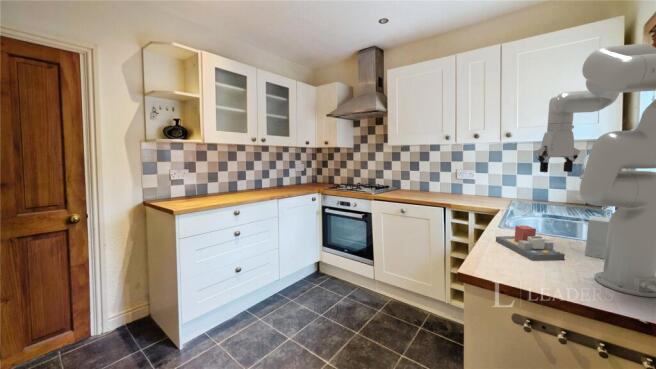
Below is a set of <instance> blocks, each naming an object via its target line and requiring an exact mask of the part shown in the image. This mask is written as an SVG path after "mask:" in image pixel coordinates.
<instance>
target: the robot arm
mask: <svg viewBox="0 0 656 369" xmlns="http://www.w3.org/2000/svg"><path fill="white" fill-rule="evenodd" d="M581 68H582V71H581V72H582V75H583V78H584V79H585V86H586V88H587V90H577V91H565V92H561V93H559V94H558V95H557V96H553V97H551V98H550V99H549V103H548V116H547V128H546V132H544V134H543V137H542V140H541V144H540V148H539V149H537V150H535V151H534V154H535V158H536V159H537V160H538V162H539V163H540V164H539V172H541V173H548V171H549V162H548V161H549V159H551V158H563V159H564V160H565V161H564V162H563V172H565V173H566V172H567V173H572V172H573V167H574V166H573V163H574V162H576V159H577V158H578V157H579V155H580V153H581V150H580V149H578V148H576V147H575V138H574V132H573V129H574V128H575V126H574V124H573V122H574V114H575V113H594V112H599V111H601V110H604V109H605V108H607V107H609V106H610V105H612V104H613V103H615V101H617V99H618V97H619V96H620V94H622V93H636V92H654V91H656V46H653V45H650V44H646V43H645V44H644V43H638V44H637V43H635V44H634V43H633V44H625V45H613V46H603V47H600V48H597V49H596V50H594V51H593V52H591V53H590V54H589V55H588V56H587V58H586V59H585V61H584V63H583V64H582V67H581ZM623 169H634V170H623ZM635 169H636V170H635ZM637 169H642V170H637ZM643 169H656V98H655V99H654V100H653V101H652V102H651V103H650V104H649V105H648V106H647V107H646V108H645V109H644V110H643V112H642V115H641V116H640V120H639V123H638V125H637V127H636V128H635V129H633V130H614V131H609V132H606V133H604V134H602V135H600V136H599V137H598V138H597V139H596V140H595V141H594V142H593V144H592V146H591V148H590V151H589V155H588V157H587V160H586V164H585V167H584V171H583V173H582V177H581V181H580V184H579V195H580V198H581V199H582V201H583V202H584V203H586V204H588V205H591V206H595V207H596V206H597V207H617V208H616V209H615V211H614V212H613V213H612V215H611V216H610V217H609V218H610V220H609V225H608V234H607V242H606V251H605V259H603V260H604V261H603V270H602V271H598V272H597V273H596V272H595V274H594V279H595V281H596V282H598V283H599V284H601V285H603V286H605V287H607V288H609V289H612V290H615V291H618V292H621V293H625V294H629V295H632V296H638V297H639V296H640V297H645V298H646V297H647V298H656V171H649V170H643Z"/></svg>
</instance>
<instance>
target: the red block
mask: <svg viewBox="0 0 656 369" xmlns="http://www.w3.org/2000/svg"><path fill="white" fill-rule="evenodd" d="M514 230H515V231H514V236H515V241H516V242H518V241H522V240H525V241H527V238H528V237H531V236H537V235H536V234H537V229H536V228H535V227H533V226H529V225H515V229H514Z"/></svg>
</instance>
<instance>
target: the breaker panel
mask: <svg viewBox="0 0 656 369" xmlns="http://www.w3.org/2000/svg"><path fill="white" fill-rule="evenodd" d="M495 242H497V243H498V244H500V245H502V246H504V247H506V248H508V249H509V250H511V251H514V252H515V253H517V254H519V255H521V256H523V257H525V258H527V259H528V260H531V261H532V262H533V261H534V262H535V261H564V260H565V258H566V257H565V255H566V254H564V253H563V252H561V251H560V250H557V249H554V242H552V241H550V240H548V239H545V245H544V249H532V248H531V243H530V242H527V241H525V240H522V241H518V242H516V241H515V235H514V236H513V235H509V236H508V235H507V236H505V235H504V236H503V235H502V236H501V235H500V236H495Z"/></svg>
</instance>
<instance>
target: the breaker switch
mask: <svg viewBox="0 0 656 369" xmlns="http://www.w3.org/2000/svg"><path fill="white" fill-rule="evenodd" d="M545 240H546V239H545V238H543V237H542V236H541V235H535V236H531V237H528V238H527V242H530V243H531V248H532V249H544V245H545Z"/></svg>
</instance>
